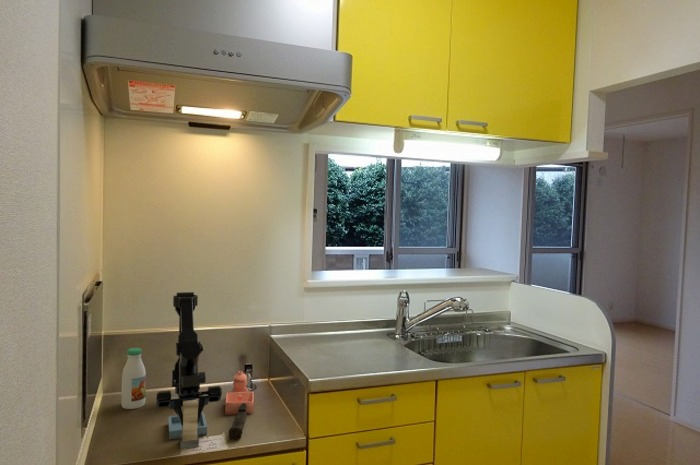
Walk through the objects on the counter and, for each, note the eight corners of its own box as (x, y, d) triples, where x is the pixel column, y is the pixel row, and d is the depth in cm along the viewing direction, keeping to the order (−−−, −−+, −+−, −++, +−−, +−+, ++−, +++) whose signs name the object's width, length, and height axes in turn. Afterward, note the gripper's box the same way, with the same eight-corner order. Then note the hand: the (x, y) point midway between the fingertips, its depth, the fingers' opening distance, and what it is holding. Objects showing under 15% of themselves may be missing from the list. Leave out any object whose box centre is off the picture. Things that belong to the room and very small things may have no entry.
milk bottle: (121, 411, 164) (122, 353, 163) (120, 402, 171) (121, 347, 170) (146, 407, 167) (147, 351, 166) (144, 399, 174) (145, 345, 173)
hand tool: (241, 440, 147) (242, 426, 147) (228, 440, 147) (228, 425, 147) (252, 414, 166) (253, 401, 166) (240, 414, 166) (241, 401, 166)
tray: (168, 424, 156) (168, 416, 156) (203, 419, 160) (203, 412, 160) (169, 439, 146) (169, 431, 145) (206, 434, 150) (207, 426, 150)
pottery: (253, 413, 167) (254, 385, 166) (225, 414, 165) (226, 386, 164) (252, 393, 184) (253, 368, 184) (227, 394, 182) (227, 369, 182)
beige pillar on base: (180, 441, 145) (181, 400, 144) (197, 438, 147) (198, 398, 146) (180, 449, 140) (181, 407, 140) (198, 446, 142) (199, 405, 142)
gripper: (157, 365, 143) (156, 417, 133) (221, 360, 150) (225, 409, 140) (156, 382, 150) (155, 432, 141) (218, 376, 157) (221, 424, 147)
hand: (190, 424), depth 142 cm, fingers closed on beige pillar on base, 4 cm apart
